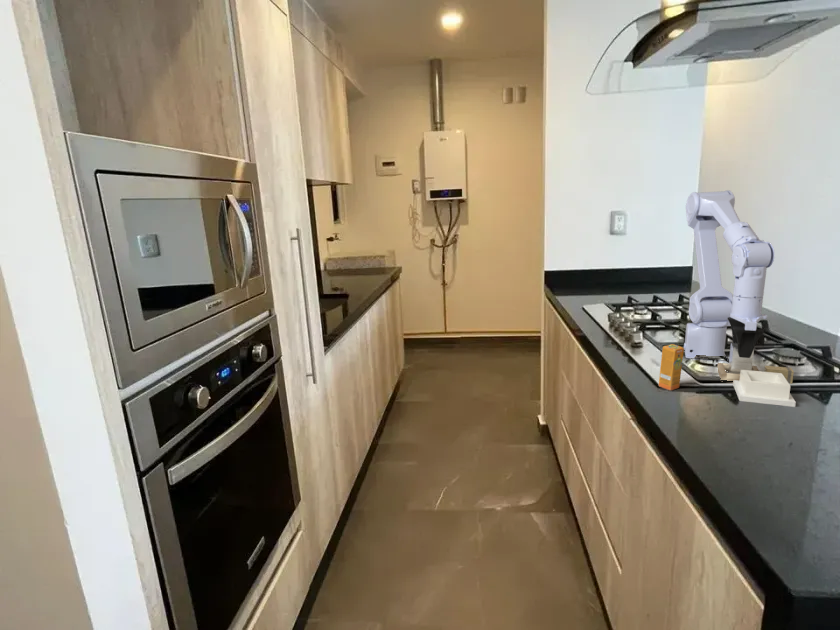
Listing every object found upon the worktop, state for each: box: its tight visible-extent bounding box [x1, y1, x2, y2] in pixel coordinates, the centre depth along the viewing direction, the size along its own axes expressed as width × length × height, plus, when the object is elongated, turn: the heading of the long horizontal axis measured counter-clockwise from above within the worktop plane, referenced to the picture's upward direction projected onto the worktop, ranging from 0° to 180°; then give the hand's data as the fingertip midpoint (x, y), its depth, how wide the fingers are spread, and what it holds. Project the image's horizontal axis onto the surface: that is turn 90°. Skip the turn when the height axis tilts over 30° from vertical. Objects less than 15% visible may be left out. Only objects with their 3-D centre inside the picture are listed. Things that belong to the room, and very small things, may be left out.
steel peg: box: [727, 342, 755, 374], centre depth 113 cm, size 4×4×8 cm
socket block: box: [716, 362, 760, 381], centre depth 114 cm, size 8×8×2 cm
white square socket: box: [732, 370, 797, 408], centre depth 104 cm, size 10×10×4 cm
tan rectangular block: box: [763, 365, 795, 385], centre depth 111 cm, size 5×2×3 cm, turn 65°
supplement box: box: [658, 343, 685, 391], centre depth 110 cm, size 3×3×10 cm
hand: (741, 352), depth 113 cm, fingers open, 7 cm apart
